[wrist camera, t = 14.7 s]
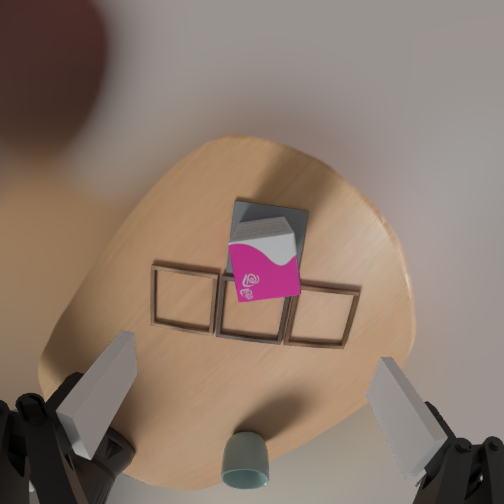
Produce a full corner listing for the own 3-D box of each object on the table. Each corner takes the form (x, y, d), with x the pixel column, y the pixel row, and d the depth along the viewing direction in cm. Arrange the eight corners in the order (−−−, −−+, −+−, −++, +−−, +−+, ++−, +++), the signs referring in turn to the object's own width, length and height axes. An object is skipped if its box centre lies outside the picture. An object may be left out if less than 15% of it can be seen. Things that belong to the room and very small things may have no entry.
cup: (261, 422, 43) (261, 466, 33) (272, 445, 44) (274, 486, 35) (219, 428, 43) (213, 471, 34) (233, 451, 45) (230, 491, 35)
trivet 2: (283, 342, 39) (283, 345, 38) (295, 283, 37) (295, 285, 36) (342, 346, 39) (343, 349, 38) (358, 290, 37) (360, 292, 36)
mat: (226, 271, 36) (226, 272, 36) (234, 200, 34) (234, 201, 34) (295, 280, 37) (296, 281, 36) (307, 210, 34) (308, 211, 34)
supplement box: (236, 222, 35) (226, 240, 23) (285, 215, 34) (298, 229, 23) (244, 267, 36) (238, 304, 25) (290, 261, 36) (305, 295, 24)
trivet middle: (216, 334, 39) (215, 336, 38) (222, 274, 37) (221, 275, 36) (279, 342, 39) (280, 344, 38) (291, 283, 37) (292, 284, 36)
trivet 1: (152, 323, 38) (150, 325, 38) (152, 264, 36) (151, 265, 36) (212, 334, 39) (212, 336, 38) (218, 273, 37) (217, 275, 36)
